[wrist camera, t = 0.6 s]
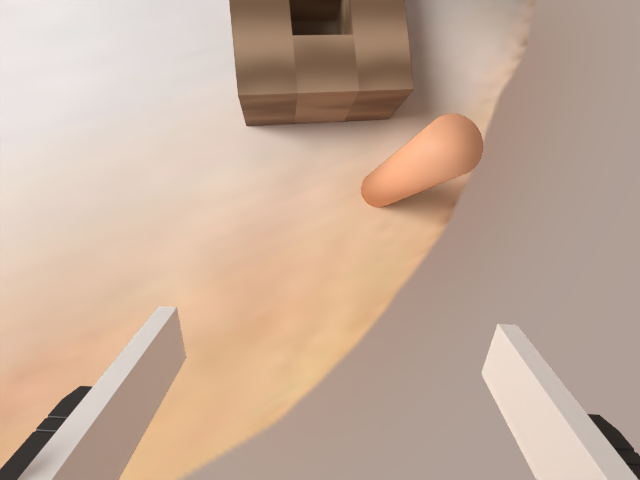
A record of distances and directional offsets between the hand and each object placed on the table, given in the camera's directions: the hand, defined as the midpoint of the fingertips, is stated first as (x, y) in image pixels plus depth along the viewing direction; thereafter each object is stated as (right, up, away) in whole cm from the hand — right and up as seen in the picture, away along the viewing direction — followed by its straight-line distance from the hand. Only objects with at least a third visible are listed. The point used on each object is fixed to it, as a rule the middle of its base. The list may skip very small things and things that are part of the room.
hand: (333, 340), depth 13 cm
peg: (+6, +10, +23) cm, 26 cm away
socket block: (-1, +25, +23) cm, 34 cm away
